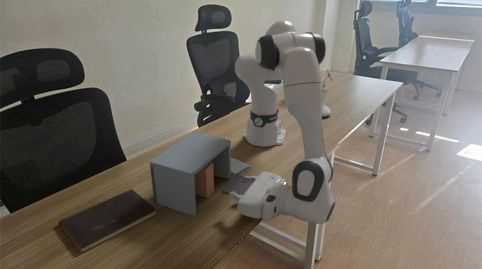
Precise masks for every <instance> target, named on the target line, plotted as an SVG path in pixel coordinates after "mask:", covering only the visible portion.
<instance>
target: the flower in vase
mask: <svg viewBox="0 0 482 269" xmlns="http://www.w3.org/2000/svg"><path fill="white" fill-rule="evenodd" d="M326 72H327V76H326V77H325V79H324V81H323V82H322V118H324V117H328V116H330V115H331V114H332V112H331V110H330V108H329V107H328V106H327V105H325V103H324V102H325V97H326V94H327V93H328V91H329V90H328V89H325V88H326V87H327V84H326V80H327V78H329V79H330V81H331V82H332V83H333V82H334V79H333V77H332V74H331V72H330V70H329V68H326Z"/></svg>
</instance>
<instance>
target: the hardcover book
mask: <svg viewBox="0 0 482 269" xmlns="http://www.w3.org/2000/svg"><path fill="white" fill-rule="evenodd" d="M157 211H158V209H157V208H156V207H154V206H153V205H152V204H151V203H150V202H148V201H147V200H146V199H145V198H143V197H142V196H141V195H140V194H138V193H137V192H136V191H135V190H134V189H133V188H131V189H129V190H126V191H123V192H121V193H119V194H117V195H114V196H112V197H111V198H108V199H105V200H103V201H101V202H99V203H96V204H94V205H92V206H90V207H87V208H85V209H83V210H81V211H78V212H76V213H73V214H71V215H68V216H67V217H65V218H62V219H60V220H58V224H59V225H60V224H61V227H62V228H63V230H64V231H65V232H66V234H68V236H69V237H70V238H71V240H72V241H73V243H74V244H75V245H76V246H77V248H78V249H79V250H80V252H81V253H84V252H86V251H87V250H90V249H91V248H94V247H95V246H98V245H100V244H101V243H103V242H105V241H107V240H109V239H111V238H113V237H114V236H116V235H119V234H120V233H122V232H125V231H126V230H128V229H131V228H132V227H134V226H136V225H138V224H141V223H142V222H144V221H145V220H147V219H149V218H152V217H153V216H155V215H157Z"/></svg>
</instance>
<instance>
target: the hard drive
mask: <svg viewBox="0 0 482 269" xmlns="http://www.w3.org/2000/svg"><path fill="white" fill-rule="evenodd" d="M250 168H251V165H249V164H247V163H245V162H243V161H241V160H238V159H236V158H234V157H232V156H231V174H232V175H234V177H235V176H236V175H237V174H239V175H241V174H242V173H244V172H245V171H247V170H250Z"/></svg>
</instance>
